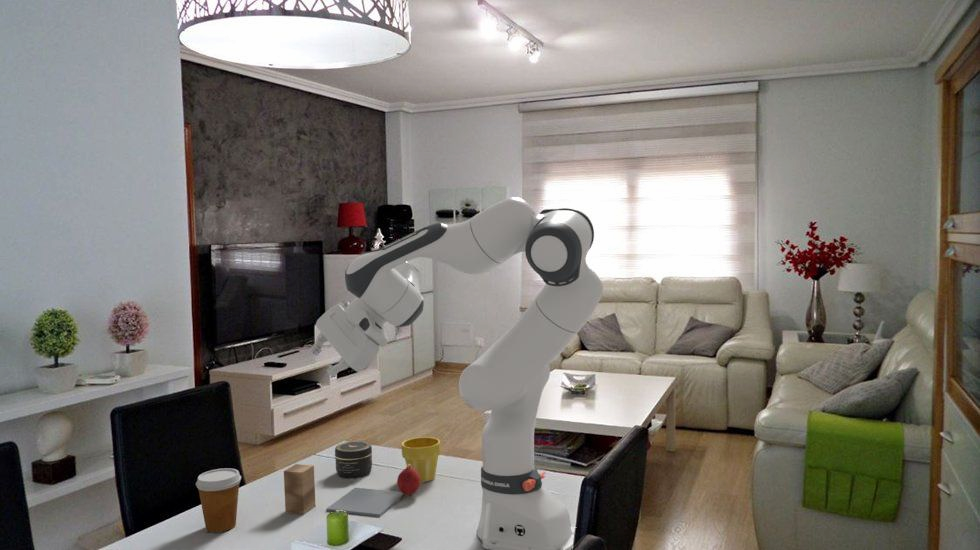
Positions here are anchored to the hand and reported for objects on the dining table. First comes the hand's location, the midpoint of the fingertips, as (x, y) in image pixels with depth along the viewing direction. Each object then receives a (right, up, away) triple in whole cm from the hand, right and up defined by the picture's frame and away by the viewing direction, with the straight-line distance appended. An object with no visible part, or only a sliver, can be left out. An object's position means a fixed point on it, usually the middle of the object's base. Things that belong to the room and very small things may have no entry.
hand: (321, 363), depth 155 cm
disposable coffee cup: (-22, -37, 0) cm, 43 cm away
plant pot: (+20, -34, +28) cm, 49 cm away
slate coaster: (+8, -35, +12) cm, 38 cm away
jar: (+1, -35, +33) cm, 48 cm away
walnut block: (-7, -36, +9) cm, 38 cm away
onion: (+18, -35, +15) cm, 42 cm away
